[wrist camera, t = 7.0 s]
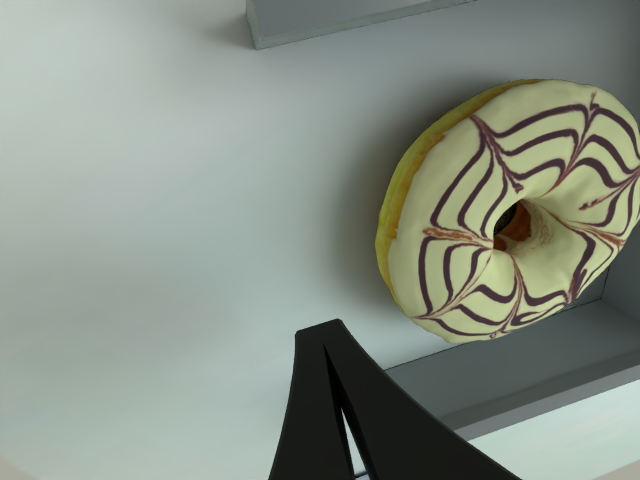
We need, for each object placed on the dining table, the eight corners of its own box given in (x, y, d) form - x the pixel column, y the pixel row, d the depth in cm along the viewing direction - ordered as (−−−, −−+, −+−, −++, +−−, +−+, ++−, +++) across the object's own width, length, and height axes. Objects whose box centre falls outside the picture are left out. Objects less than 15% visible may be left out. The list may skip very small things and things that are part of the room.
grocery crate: (613, 307, 20) (696, 358, 16) (345, 397, 18) (371, 475, 14) (732, -97, 11) (966, -182, 7) (244, 8, 10) (244, -37, 6)
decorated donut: (524, 302, 18) (587, 351, 15) (344, 304, 16) (371, 365, 12) (622, 103, 14) (742, 110, 11) (395, 59, 11) (459, 51, 8)
